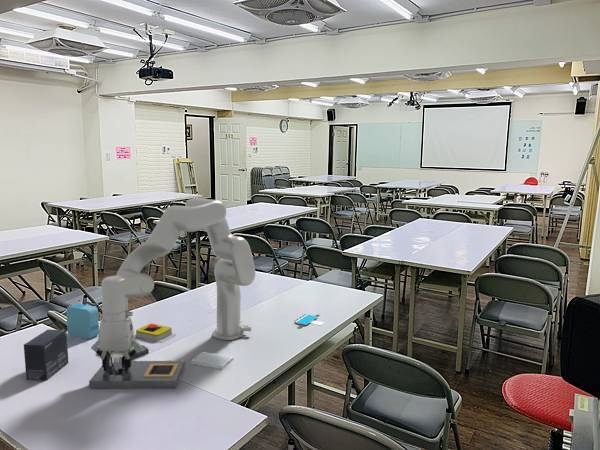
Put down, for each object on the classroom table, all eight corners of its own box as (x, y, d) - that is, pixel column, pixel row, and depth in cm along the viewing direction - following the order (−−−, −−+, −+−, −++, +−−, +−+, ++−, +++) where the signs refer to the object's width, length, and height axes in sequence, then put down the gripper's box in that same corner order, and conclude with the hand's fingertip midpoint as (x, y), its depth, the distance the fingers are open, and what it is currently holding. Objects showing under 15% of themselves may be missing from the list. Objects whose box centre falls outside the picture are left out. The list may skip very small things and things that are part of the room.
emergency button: (148, 319, 186) (177, 325, 180) (148, 329, 187) (177, 335, 181) (131, 326, 178) (161, 333, 172) (131, 337, 178) (161, 344, 172)
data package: (99, 336, 177) (98, 306, 176) (90, 340, 173) (89, 310, 171) (76, 331, 181) (75, 302, 180) (67, 335, 177) (65, 306, 176)
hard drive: (190, 360, 156) (222, 366, 152) (203, 351, 163) (233, 356, 159) (191, 364, 156) (222, 370, 152) (203, 355, 163) (233, 360, 159)
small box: (49, 362, 154) (47, 328, 152) (69, 362, 154) (67, 329, 152) (25, 380, 141) (22, 344, 139) (46, 381, 140) (44, 344, 139)
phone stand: (312, 332, 188) (312, 328, 188) (287, 327, 194) (287, 323, 194) (331, 318, 206) (331, 315, 206) (308, 314, 211) (308, 310, 211)
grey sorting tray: (184, 367, 152) (184, 360, 152) (175, 388, 138) (175, 380, 138) (106, 368, 150) (106, 360, 150) (89, 388, 136) (89, 380, 136)
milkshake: (111, 374, 146) (110, 345, 144) (128, 374, 146) (127, 345, 145) (106, 381, 141) (105, 351, 140) (123, 381, 142) (122, 351, 140)
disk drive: (98, 354, 162) (125, 364, 154) (98, 347, 162) (124, 356, 154) (123, 345, 171) (149, 354, 163) (123, 338, 170) (149, 346, 163)
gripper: (146, 311, 145) (147, 364, 148) (92, 311, 144) (94, 364, 146) (139, 319, 138) (141, 374, 140) (82, 319, 137) (84, 374, 139)
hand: (117, 368), depth 143 cm, fingers open, 5 cm apart
